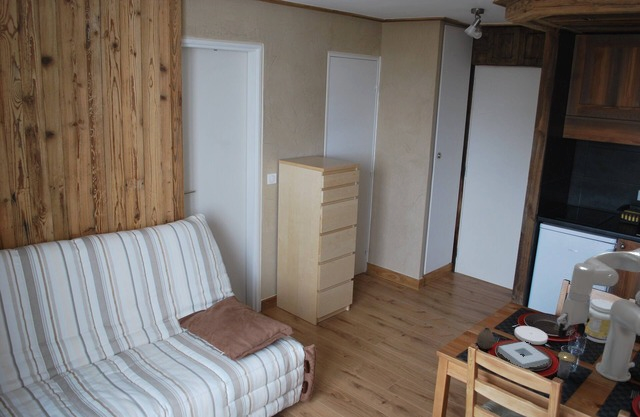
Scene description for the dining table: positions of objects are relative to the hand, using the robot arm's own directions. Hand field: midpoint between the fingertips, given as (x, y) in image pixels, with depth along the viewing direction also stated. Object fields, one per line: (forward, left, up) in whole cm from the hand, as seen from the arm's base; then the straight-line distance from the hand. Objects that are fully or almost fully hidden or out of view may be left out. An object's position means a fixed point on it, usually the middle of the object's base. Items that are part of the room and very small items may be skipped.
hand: (570, 335), depth 209 cm
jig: (+8, -14, -18) cm, 24 cm away
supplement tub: (-41, -19, -18) cm, 49 cm away
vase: (+16, -28, -18) cm, 37 cm away
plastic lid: (-10, -28, -18) cm, 35 cm away
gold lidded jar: (0, 0, -18) cm, 18 cm away
